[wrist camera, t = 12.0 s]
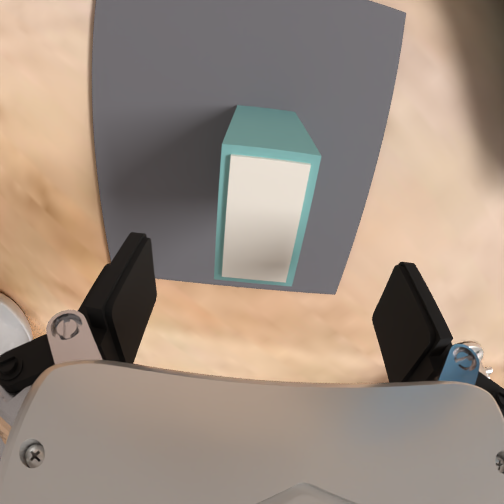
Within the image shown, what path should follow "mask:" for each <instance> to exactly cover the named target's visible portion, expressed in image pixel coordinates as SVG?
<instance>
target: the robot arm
mask: <svg viewBox="0 0 504 504" xmlns="http://www.w3.org/2000/svg"><path fill="white" fill-rule="evenodd" d="M156 297H157V291H156V283H155V274H154V264H153V254H152V243H151V238H147V236H146V234H145V233H135V232H131V233H130V234H129V235H128V237H127V238H126V240H125V241H124V243H123V244H122V246H121V247H120V249H119V251H118V252H117V254H116V255H115V257H114V258H113V260H112V262H111V263H110V264H107V265H106V266H105V267H104V268H103V270H102V271H101V273H100V275H99V276H98V278H97V279H96V281H95V283H94V284H93V286H92V288H91V289H90V291H89V293H88V294H87V296H86V298H85V299H84V301H83V303H82V305H81V306H80V308H79V310H78V311H75V310H65V311H61V312H59V313H57V314H56V315H54V316H53V317H52V318H51V319H50V321H49V322H48V325H47V328H46V330H47V334H45V335H43V336H41V337H38V338H36V339H34V340H31V341H29V342H27V343H25V344H22V345H20V346H18V347H16V348H13V349H11V350H9V351H6V352H5V353H3V354H1V355H0V504H504V389H503V388H502V387H500V386H499V385H498V384H496V383H495V382H493V381H492V380H491V379H489V378H490V377H489V374H491V373H492V371H493V369H492V367H485V368H484V367H483V364H482V362H481V360H482V358H483V350H482V347H481V346H480V344H478V343H474V342H469V343H463V344H455V345H452V343H451V341H452V339H453V337H452V335H451V333H450V330H449V328H448V326H447V324H446V322H445V320H444V318H443V316H442V314H441V312H440V310H439V308H438V306H437V304H436V302H435V300H434V298H433V296H432V294H431V292H430V291H429V289H428V287H427V285H426V283H425V281H424V280H423V278H422V276H421V274H420V272H419V271H418V269H417V267H416V265H415V264H414V263H407V262H400V263H399V264H398V265H396V266H395V267H394V269H393V271H392V274H391V276H390V278H389V281H388V283H387V285H386V287H385V290H384V292H383V294H382V296H381V298H380V300H379V303H378V305H377V307H376V309H375V311H374V313H373V317H372V321H373V325H374V329H375V332H376V335H377V339H378V342H379V346H380V349H381V353H382V356H383V360H384V364H385V367H386V371H387V375H388V379H389V383H358V384H340V383H300V382H280V381H265V380H253V379H241V378H231V377H222V376H213V375H205V374H197V373H190V372H183V371H176V370H169V369H162V368H156V367H150V366H144V365H138V364H133V362H134V360H135V357H136V354H137V351H138V348H139V345H140V342H141V340H142V337H143V334H144V331H145V328H146V326H147V323H148V320H149V318H150V315H151V312H152V310H153V307H154V304H155V302H156Z"/></svg>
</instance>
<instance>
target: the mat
mask: <svg viewBox="0 0 504 504" xmlns="http://www.w3.org/2000/svg"><path fill="white" fill-rule="evenodd" d="M405 17H406V13H405V12H402V11H399V10H396V9H394V8H391V7H388V6H385V5H382V4H379V3H375V2H372V1H369V0H96V6H95V17H94V31H93V51H92V107H93V128H94V143H95V155H96V166H97V175H98V184H99V192H100V200H101V207H102V213H103V220H104V226H105V232H106V238H107V243H108V248H109V254H110V259H111V262H112V260H113V258H114V257H115V255H116V254H117V252H118V251H119V249H120V247H121V246H122V244H123V243H124V241H125V240H126V238H127V237H128V235H129V234H130V233H131V232H135V233H145V234H146V236H147V238H151V243H152V254H153V264H154V274H155V278H157V279H166V280H175V281H184V282H193V283H203V284H213V285H223V286H234V287H245V288H256V289H268V290H280V291H293V292H306V293H320V294H336V291H337V288H338V286H339V283H340V280H341V277H342V274H343V271H344V269H345V266H346V263H347V260H348V257H349V254H350V251H351V248H352V245H353V242H354V239H355V236H356V232H357V229H358V226H359V223H360V220H361V216H362V213H363V210H364V206H365V203H366V200H367V196H368V193H369V189H370V186H371V182H372V179H373V175H374V171H375V167H376V164H377V160H378V156H379V152H380V148H381V144H382V140H383V136H384V131H385V127H386V123H387V118H388V114H389V109H390V105H391V100H392V95H393V90H394V85H395V80H396V74H397V69H398V63H399V57H400V51H401V45H402V39H403V32H404V25H405ZM237 105H242V106H252V107H261V108H270V109H278V110H285V111H292V112H295V113H296V114H297V116H298V118H299V119H300V121H301V122H302V124H303V126H304V127H305V129H306V131H307V132H308V134H309V136H310V137H311V139H312V141H313V142H314V144H315V146H316V147H317V149H318V151H319V153H320V154H321V161H320V166H319V171H318V175H317V180H316V185H315V189H314V194H313V199H312V203H311V208H310V212H309V217H308V221H307V225H306V230H305V234H304V238H303V243H302V247H301V251H300V255H299V259H298V263H297V267H296V272H295V276H294V280H293V284H292V286H280V285H269V284H257V283H247V282H236V281H226V280H216V279H214V267H215V246H216V226H217V209H218V193H219V178H220V163H221V150H222V143H223V140H224V137H225V135H226V132H227V130H228V127H229V125H230V122H231V120H232V117H233V115H234V112H235V110H236V108H237Z"/></svg>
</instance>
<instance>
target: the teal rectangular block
mask: <svg viewBox="0 0 504 504" xmlns="http://www.w3.org/2000/svg"><path fill="white" fill-rule="evenodd" d="M320 161H321V154H320V153H319V151H318V149H317V147H316V146H315V144H314V142H313V141H312V139H311V137H310V136H309V134H308V132H307V131H306V129H305V127H304V126H303V124H302V122H301V121H300V119H299V118H298V116H297V114H296V113H295V112H292V111H285V110H278V109H270V108H261V107H252V106H242V105H237V108H236V110H235V112H234V115H233V117H232V120H231V122H230V125H229V127H228V130H227V132H226V135H225V137H224V140H223V143H222V150H221V163H220V178H219V193H218V209H217V226H216V246H215V267H214V279H216V280H226V281H236V282H247V283H257V284H269V285H280V286H292V284H293V280H294V276H295V272H296V267H297V263H298V259H299V255H300V251H301V247H302V243H303V238H304V234H305V230H306V225H307V221H308V217H309V212H310V208H311V203H312V199H313V194H314V189H315V185H316V180H317V175H318V171H319V166H320Z"/></svg>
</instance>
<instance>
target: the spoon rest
mask: <svg viewBox="0 0 504 504" xmlns="http://www.w3.org/2000/svg"><path fill="white" fill-rule="evenodd" d="M31 340H33V336H32V331H31V327H30V324H29V322H28V320H27V318H26V316H25V314H24V313H23V311H22V310H21V309H20V307H19V306H18V305H17V304H16V303H15V302H14V301H12V300H11V299H10V298H8V297H7V296H5V295H4V294H2V293H0V355H1V354H3V353H5V352H6V351H9V350H11V349H13V348H16V347H18V346H20V345H22V344H25V343H27V342H29V341H31Z"/></svg>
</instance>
